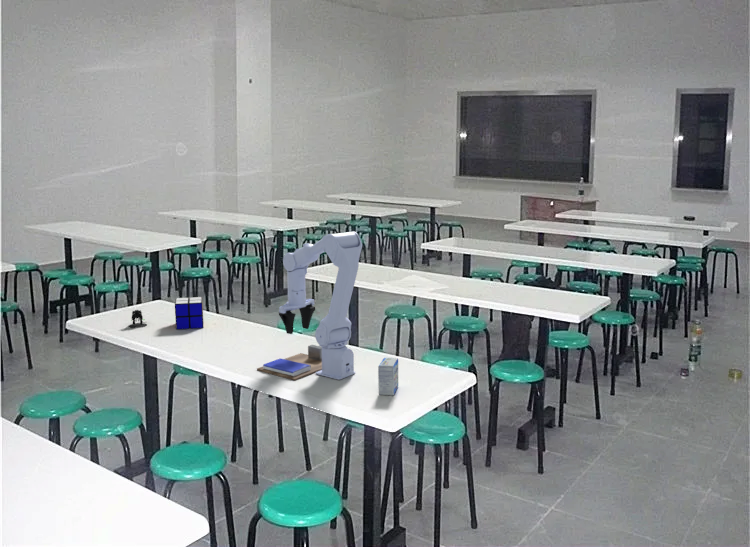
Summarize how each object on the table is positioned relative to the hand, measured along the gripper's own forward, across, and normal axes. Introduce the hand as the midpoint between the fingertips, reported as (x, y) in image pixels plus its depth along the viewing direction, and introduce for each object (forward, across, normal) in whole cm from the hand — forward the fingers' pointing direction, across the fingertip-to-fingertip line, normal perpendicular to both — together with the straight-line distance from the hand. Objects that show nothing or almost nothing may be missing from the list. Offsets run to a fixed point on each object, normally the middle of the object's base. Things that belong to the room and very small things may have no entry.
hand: (297, 330), depth 229 cm
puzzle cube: (+9, -7, -62) cm, 63 cm away
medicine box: (+10, +6, +40) cm, 42 cm away
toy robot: (+9, +5, -78) cm, 79 cm away
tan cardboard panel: (+10, +6, +5) cm, 12 cm away
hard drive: (+9, +11, +5) cm, 15 cm away
